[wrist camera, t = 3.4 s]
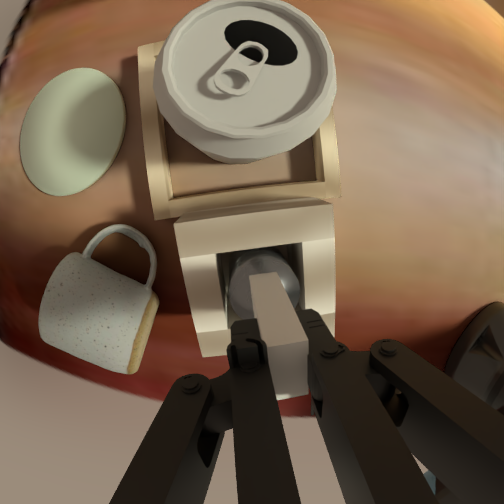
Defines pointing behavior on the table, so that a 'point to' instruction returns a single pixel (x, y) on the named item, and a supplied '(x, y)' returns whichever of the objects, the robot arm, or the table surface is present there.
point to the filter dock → (243, 224)
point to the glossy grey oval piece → (258, 263)
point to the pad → (72, 131)
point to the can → (245, 79)
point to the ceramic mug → (100, 308)
